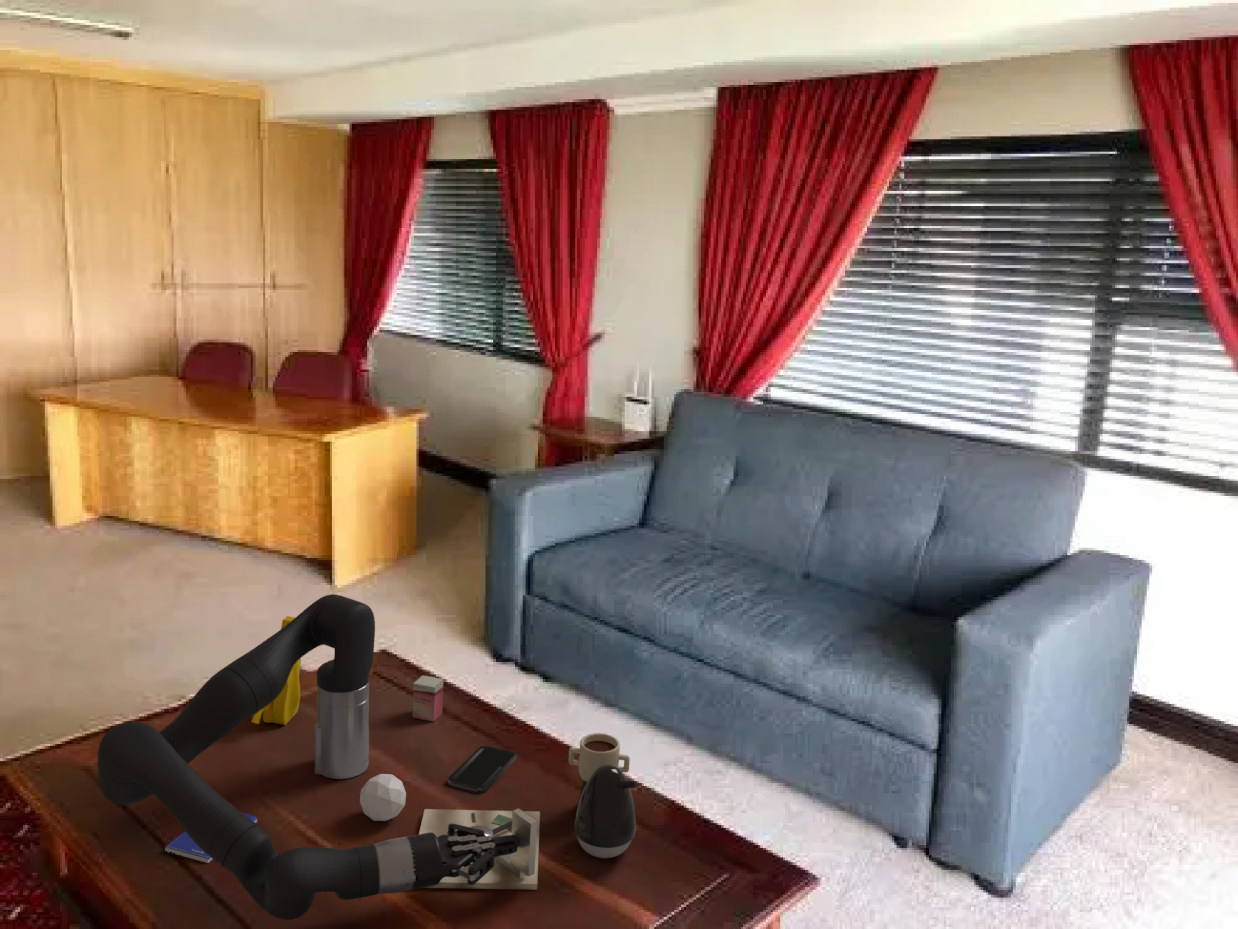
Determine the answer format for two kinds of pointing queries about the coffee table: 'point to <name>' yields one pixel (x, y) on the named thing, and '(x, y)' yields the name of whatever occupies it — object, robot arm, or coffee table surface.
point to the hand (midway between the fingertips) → (516, 843)
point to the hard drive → (192, 846)
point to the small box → (427, 698)
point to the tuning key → (526, 837)
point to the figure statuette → (283, 697)
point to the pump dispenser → (606, 813)
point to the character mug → (597, 755)
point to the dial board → (498, 874)
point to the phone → (481, 769)
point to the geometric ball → (383, 797)
